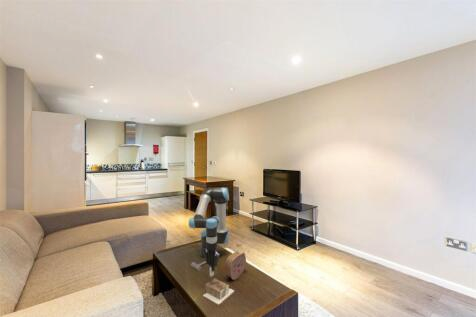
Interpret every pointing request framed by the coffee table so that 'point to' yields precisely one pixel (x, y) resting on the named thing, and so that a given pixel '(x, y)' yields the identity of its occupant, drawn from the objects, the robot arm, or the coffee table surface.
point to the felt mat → (216, 300)
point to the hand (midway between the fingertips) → (211, 275)
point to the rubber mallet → (198, 266)
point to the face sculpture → (235, 265)
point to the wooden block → (217, 288)
